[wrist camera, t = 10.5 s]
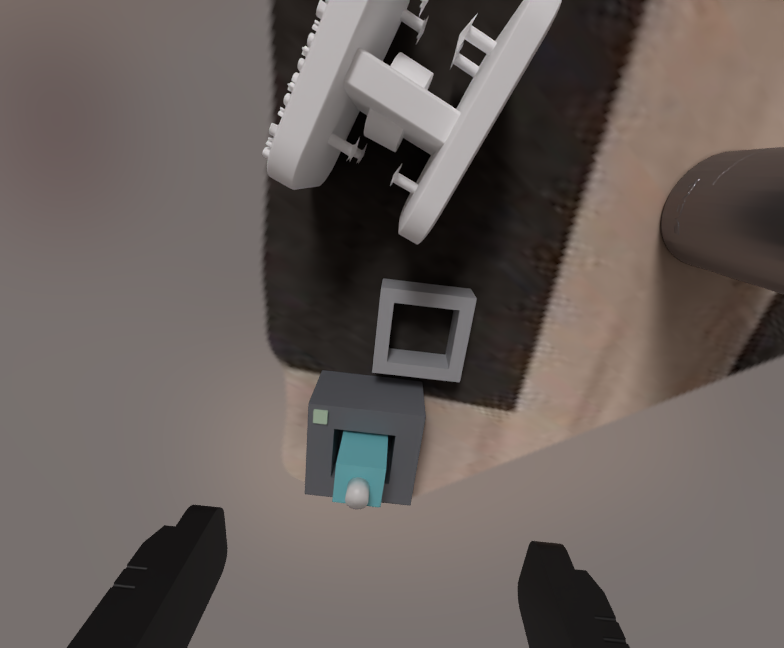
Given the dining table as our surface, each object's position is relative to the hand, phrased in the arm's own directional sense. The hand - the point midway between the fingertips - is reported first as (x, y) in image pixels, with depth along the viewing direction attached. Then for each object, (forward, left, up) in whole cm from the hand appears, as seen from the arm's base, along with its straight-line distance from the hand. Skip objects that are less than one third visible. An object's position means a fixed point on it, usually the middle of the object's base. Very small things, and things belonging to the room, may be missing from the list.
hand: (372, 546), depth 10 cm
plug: (+1, +15, -25) cm, 29 cm away
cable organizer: (+1, -13, -27) cm, 30 cm away
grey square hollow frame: (-3, +4, -27) cm, 27 cm away
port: (+1, +15, -27) cm, 30 cm away
